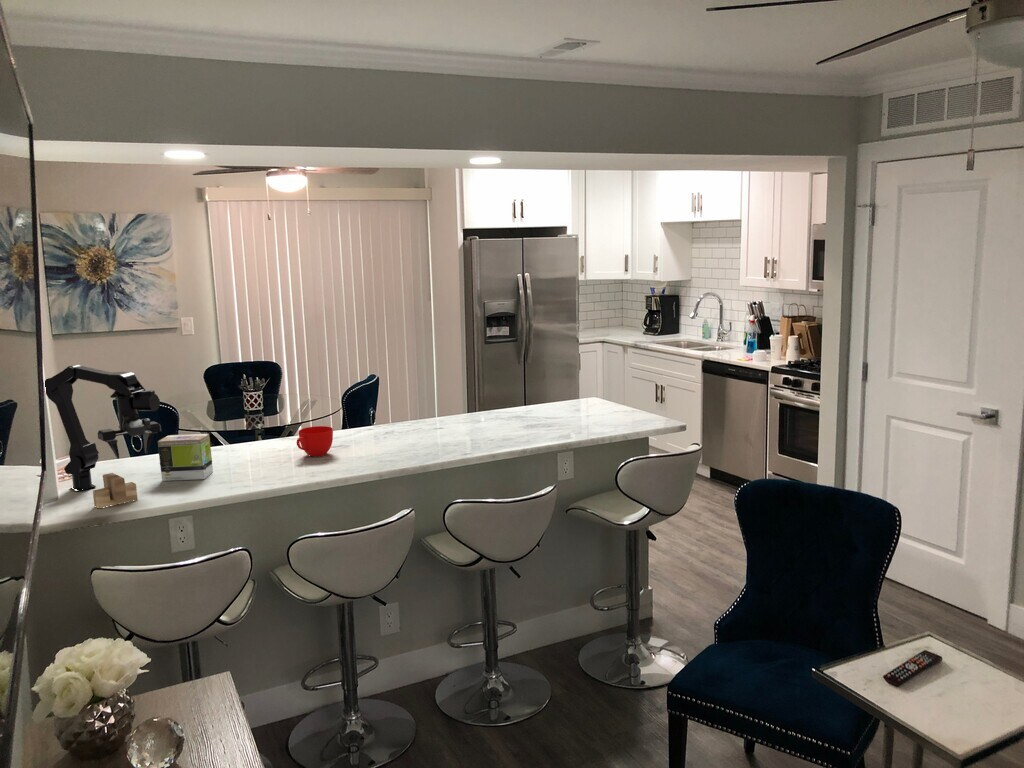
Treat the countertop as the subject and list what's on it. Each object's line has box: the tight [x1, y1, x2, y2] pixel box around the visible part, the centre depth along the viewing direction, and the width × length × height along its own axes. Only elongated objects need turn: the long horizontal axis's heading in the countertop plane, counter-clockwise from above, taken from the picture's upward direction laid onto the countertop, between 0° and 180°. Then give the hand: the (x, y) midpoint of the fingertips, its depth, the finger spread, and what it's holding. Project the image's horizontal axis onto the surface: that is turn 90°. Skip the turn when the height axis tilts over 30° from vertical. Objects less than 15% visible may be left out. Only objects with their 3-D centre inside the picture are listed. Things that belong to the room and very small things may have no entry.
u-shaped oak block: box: [92, 481, 139, 509], centre depth 258 cm, size 4×12×6 cm, turn 136°
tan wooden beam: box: [102, 472, 127, 502], centre depth 257 cm, size 10×3×7 cm, turn 46°
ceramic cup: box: [296, 425, 334, 457], centre depth 311 cm, size 13×17×10 cm
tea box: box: [157, 433, 214, 482], centre depth 286 cm, size 15×10×15 cm
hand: (132, 455), depth 271 cm, fingers open, 9 cm apart
